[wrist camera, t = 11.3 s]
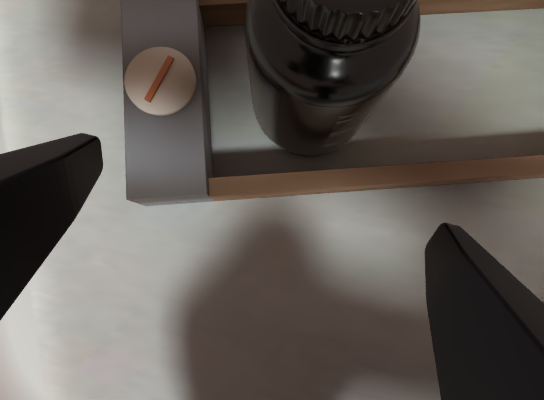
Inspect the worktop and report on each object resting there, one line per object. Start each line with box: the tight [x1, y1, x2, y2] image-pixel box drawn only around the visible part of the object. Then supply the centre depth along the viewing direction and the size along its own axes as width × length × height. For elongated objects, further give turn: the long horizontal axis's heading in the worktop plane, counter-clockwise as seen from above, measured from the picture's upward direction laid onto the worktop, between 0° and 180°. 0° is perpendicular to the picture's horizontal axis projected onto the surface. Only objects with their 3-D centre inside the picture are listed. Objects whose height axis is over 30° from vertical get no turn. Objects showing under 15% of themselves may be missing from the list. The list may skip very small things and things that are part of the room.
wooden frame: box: [121, 0, 544, 206], centre depth 21 cm, size 12×31×4 cm, turn 94°
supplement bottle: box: [245, 0, 420, 155], centre depth 16 cm, size 7×7×12 cm
